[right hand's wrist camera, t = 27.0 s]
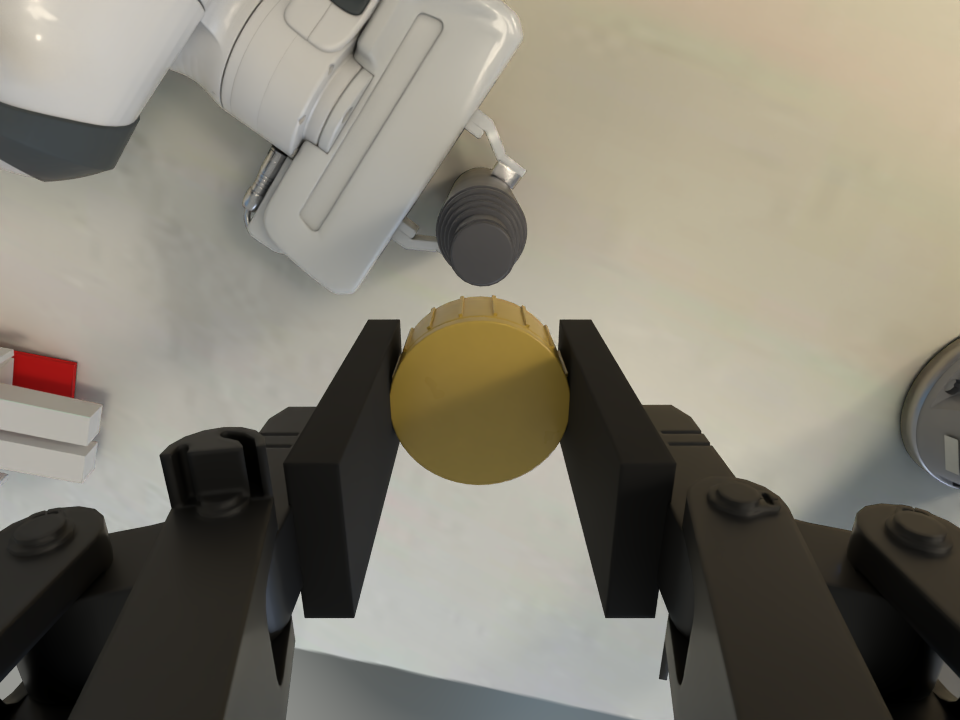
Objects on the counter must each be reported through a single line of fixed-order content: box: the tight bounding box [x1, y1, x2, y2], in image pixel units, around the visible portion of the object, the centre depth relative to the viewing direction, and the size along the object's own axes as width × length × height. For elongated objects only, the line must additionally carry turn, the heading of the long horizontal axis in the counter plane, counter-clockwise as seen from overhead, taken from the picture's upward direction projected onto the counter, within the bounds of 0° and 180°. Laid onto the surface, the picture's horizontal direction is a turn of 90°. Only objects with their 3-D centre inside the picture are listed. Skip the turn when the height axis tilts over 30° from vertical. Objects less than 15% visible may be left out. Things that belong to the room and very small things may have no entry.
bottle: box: [436, 168, 527, 286], centre depth 34 cm, size 5×5×22 cm
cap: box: [390, 295, 570, 485], centre depth 13 cm, size 4×4×2 cm
